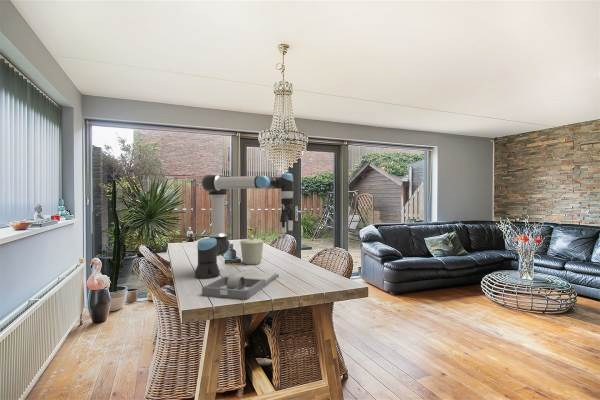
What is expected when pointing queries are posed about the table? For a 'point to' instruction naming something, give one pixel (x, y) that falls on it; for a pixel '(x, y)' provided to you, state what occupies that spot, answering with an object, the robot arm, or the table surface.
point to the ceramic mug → (236, 283)
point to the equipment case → (251, 279)
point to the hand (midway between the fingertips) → (287, 231)
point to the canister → (252, 250)
